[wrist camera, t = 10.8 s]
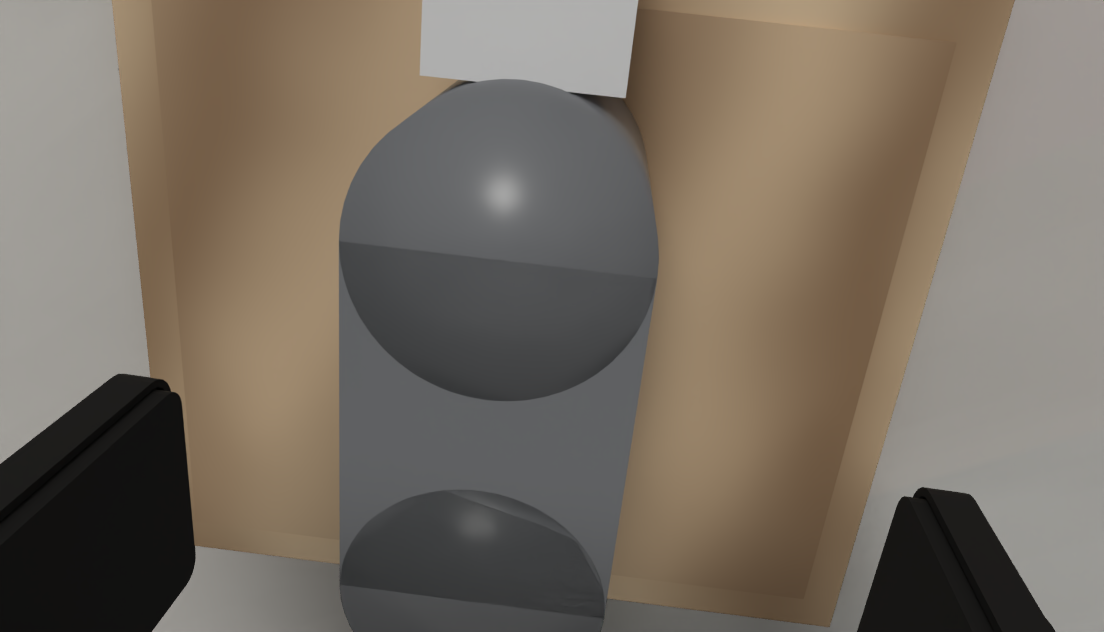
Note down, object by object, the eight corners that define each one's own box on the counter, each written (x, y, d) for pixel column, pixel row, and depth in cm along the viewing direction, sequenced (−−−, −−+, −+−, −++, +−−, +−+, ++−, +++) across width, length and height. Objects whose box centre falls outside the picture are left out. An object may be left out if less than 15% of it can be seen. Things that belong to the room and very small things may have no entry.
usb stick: (595, 536, 19) (588, 716, 15) (406, 512, 19) (340, 682, 15) (684, -72, 14) (714, -86, 10) (426, -98, 14) (337, -126, 10)
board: (996, -4, 15) (1017, -1, 14) (822, 603, 21) (830, 630, 20) (125, -97, 16) (98, -99, 15) (183, 522, 21) (165, 544, 20)
